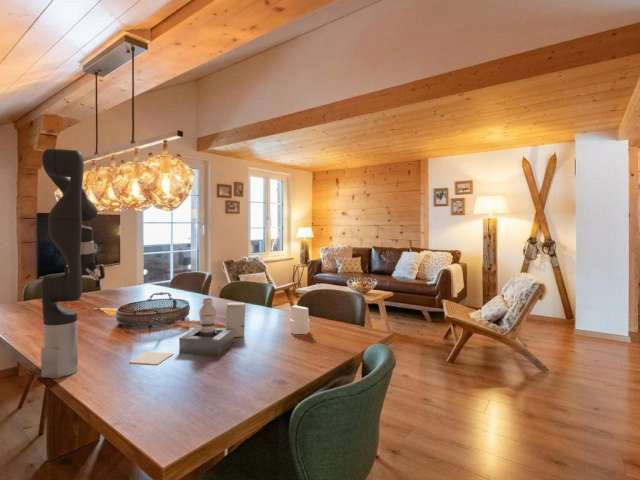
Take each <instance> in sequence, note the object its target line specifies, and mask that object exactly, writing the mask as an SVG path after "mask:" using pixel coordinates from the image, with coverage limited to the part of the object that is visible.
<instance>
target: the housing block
mask: <svg viewBox="0 0 640 480" xmlns="http://www.w3.org/2000/svg"><path fill="white" fill-rule="evenodd" d="M214 329H215V337H201V336H200V333H201V326H198V327H196V328H193V330H190V331H189V332H187V333H186V334H184V335H182V336H181V337H179V340H178V341H179V342H178V344H179V349H178V350H179V351H178V352H179V354H187V355H203V356H217V357H219V356H220V355H221V354H222V353H223V352H224V351H227V349H228V348H229V347H231V345H232V343H234V342H235V341H234V340H235V339H234V338H235V337H234V329H230V328H226V327H214Z"/></svg>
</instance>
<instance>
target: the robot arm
mask: <svg viewBox="0 0 640 480" xmlns="http://www.w3.org/2000/svg"><path fill="white" fill-rule="evenodd" d="M41 160H42V167H43V170H44V172H45V173H46V175H47V176H48V177H49V179H50V180H51V181H52V182H53V183H54V185H55V186H56V187H57V189H58V190H59V191H60V192H61V193H62V195H61V197H60V199H59V200H58V201H57V202H56V203H55V204H54V206H53V207H52V208H51V210H50V211H49V213H48V227H47V230H48V236H49V238H50V240H51V241H52V243H53V244H54V245H55V247H56V248H57V250H59V251H60V253H61V254H62V256H63V258H64V260H65V262H66V265H65V266H64V270H63V271H64V272H63V273H51V274H45V275H44V276H43V277H42V280H41V285H40V295H41V303H42V304H41V305H42V306H41V307H42V319H43V347H42V348H41V349H40V356H41V357H40V359H41V360H40V361H41V362H40V363H41V365H40V366H41V378H45V379H46V378H49V379H51V378H52V379H60V378H63V377H67V376H71V375H73V374H74V373H77V372H78V370H79V356H78V355H79V354H78V353H79V349H78V347H79V346H78V345H79V344H78V313H77V311H75V310H73V309H69V308H65V307H63V306H61V305H60V304H58V303H59V302H64V303H65V302H75V301H76V302H77V301H79V300H80V299H81V297H82V295H83V293H82V292H83V277H84V276H91V277H92V278H94V279H95V289H96V290H98V289H99V288H100V287H101V280H103V279H105V276H106V273H105V265H104V264H103V263H101V264H96V258H95V257H96V256H95V255H96V254H95V251H96V249H95V243H94V230H93V228H92V227H91V226H87V225H84V224H83V222H92V221H95V220H96V219H97V217H98V209H97V207H96V205H95V204H94V203H93V202H92V201H91V200H90V199H89V198H88V196H87V194H86V190H85V189H84V187H83V182H84V171H85V168H84V167H85V162H84V161H85V160H84V156H83V154H82V152H81V151H79V150H75V149H65V148H63V149H62V148H47V149H45V150H44V151H43V153H42V158H41ZM96 269H97V270H98V271H99V274H98V273H97V272H96V271H95V270H96Z"/></svg>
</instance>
